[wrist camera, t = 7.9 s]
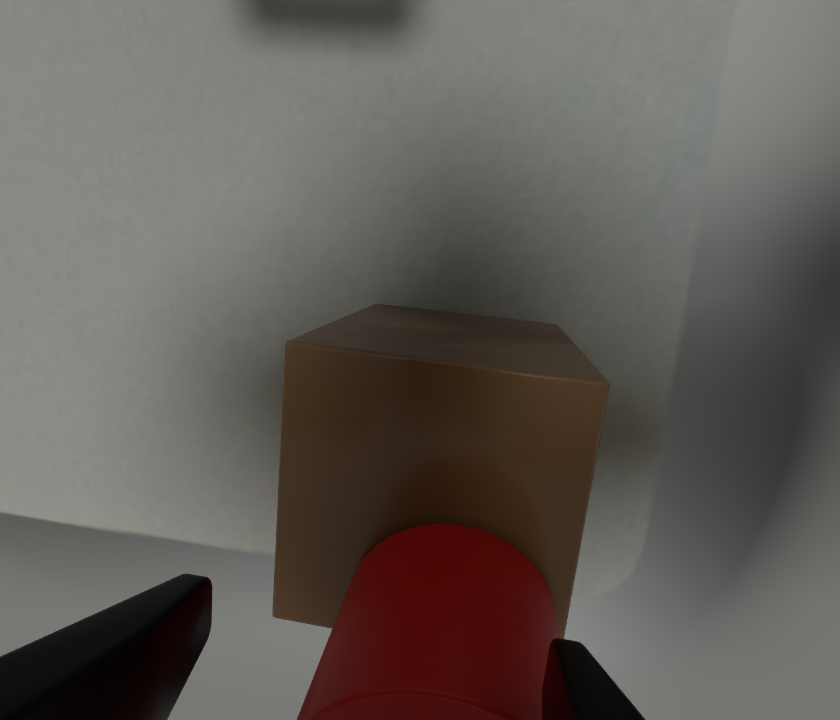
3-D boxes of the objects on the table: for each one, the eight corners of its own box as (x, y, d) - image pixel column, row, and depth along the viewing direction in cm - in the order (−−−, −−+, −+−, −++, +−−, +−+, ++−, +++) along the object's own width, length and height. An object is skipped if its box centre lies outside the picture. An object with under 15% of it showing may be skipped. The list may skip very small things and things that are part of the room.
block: (558, 324, 20) (610, 381, 11) (531, 499, 21) (558, 672, 12) (373, 303, 20) (284, 340, 12) (360, 472, 22) (270, 618, 13)
